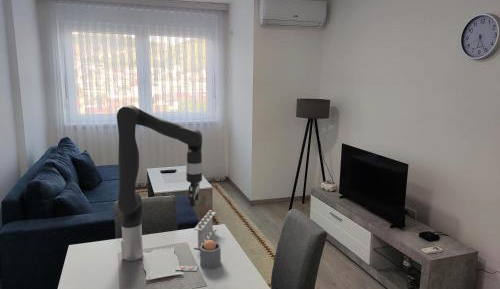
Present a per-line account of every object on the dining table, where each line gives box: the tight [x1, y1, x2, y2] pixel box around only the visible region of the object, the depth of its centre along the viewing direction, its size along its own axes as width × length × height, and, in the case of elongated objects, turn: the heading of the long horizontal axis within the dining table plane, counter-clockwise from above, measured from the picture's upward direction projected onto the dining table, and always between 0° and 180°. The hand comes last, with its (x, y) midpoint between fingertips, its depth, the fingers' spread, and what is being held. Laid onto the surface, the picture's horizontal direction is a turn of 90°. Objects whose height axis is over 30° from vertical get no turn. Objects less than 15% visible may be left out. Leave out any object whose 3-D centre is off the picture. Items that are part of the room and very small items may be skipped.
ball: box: [204, 239, 217, 251], centre depth 167 cm, size 6×6×6 cm
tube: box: [199, 241, 222, 270], centre depth 166 cm, size 9×9×9 cm
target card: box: [179, 265, 199, 272], centre depth 163 cm, size 10×4×1 cm, turn 88°
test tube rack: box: [193, 209, 217, 250], centre depth 192 cm, size 25×4×13 cm, turn 168°
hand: (194, 203), depth 170 cm, fingers open, 8 cm apart
